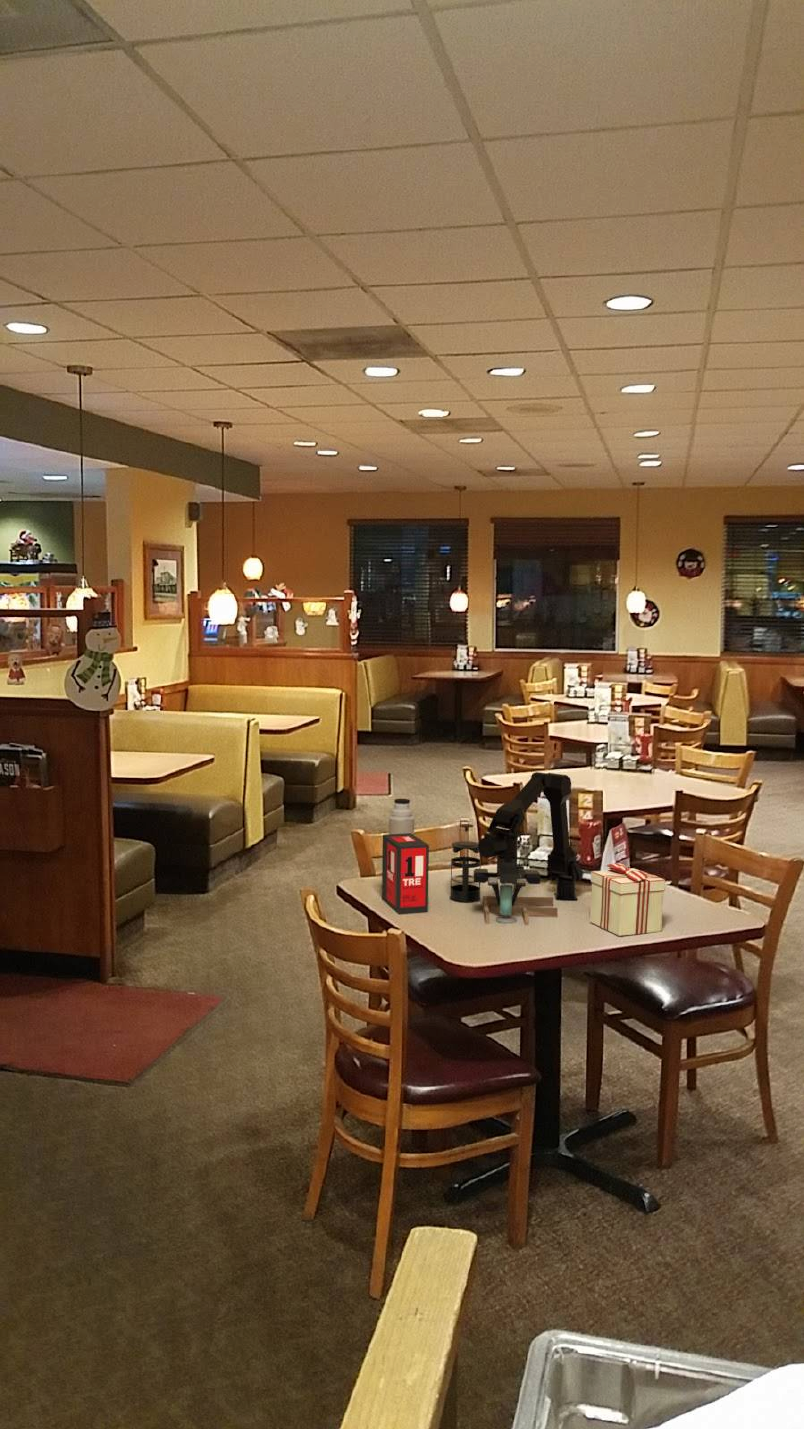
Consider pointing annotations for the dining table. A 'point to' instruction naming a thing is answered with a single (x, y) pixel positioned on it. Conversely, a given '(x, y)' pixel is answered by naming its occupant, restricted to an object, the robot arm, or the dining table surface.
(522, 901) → the channel
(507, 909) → the peg
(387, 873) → the cleaning product box
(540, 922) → the dining table surface
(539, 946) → the dining table surface
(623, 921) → the gift box
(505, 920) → the pad
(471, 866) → the french press
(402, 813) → the thermos bottle
